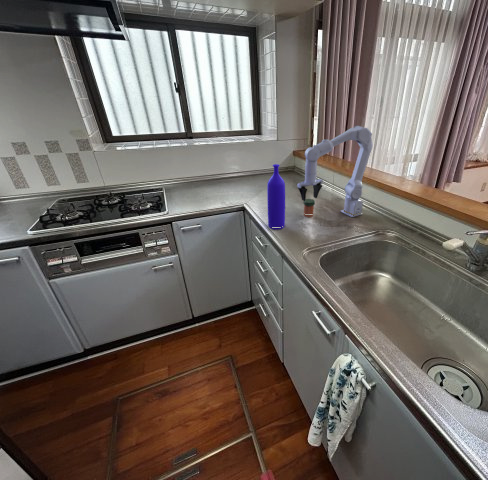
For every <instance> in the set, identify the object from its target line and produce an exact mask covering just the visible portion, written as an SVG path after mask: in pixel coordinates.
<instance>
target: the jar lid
mask: <svg viewBox="0 0 488 480" xmlns="http://www.w3.org/2000/svg"><path fill="white" fill-rule="evenodd" d="M315 204H316V200H315V199H312V198H306V199H305V201H303V206H304V205H306V206H313V205H314V206H315Z"/></svg>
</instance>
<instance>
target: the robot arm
mask: <svg viewBox="0 0 488 480" xmlns="http://www.w3.org/2000/svg"><path fill="white" fill-rule="evenodd" d="M372 136H373V133H372V131H371V130H370V129H369V128H368V127H364V126H361V125H355V126H353V127H351V128H348V129H347V130H346V131H344V132H342V133H341V134H339V135H337V136H335V137H333V138H332V139H321V142H319V143H317V144H313V145H312V146H309V147H308V148H306V150H305V151H304V157H305V165H304V166H305V167H304V181H301V182H298V183H297V185H296V186H297V189H298V191H299V193H300V197H301V200H302V201H303V202H304V201H305V199H307V192H308V188H306V187H311V186H312V188H313V198H314V199H318V196H319V194H320V191H321V189H323V181H324V179H321V178H320V179H317V173H318V170H317V169H318V160H319V159H320V157H323V156H325V155H326V154H328V153H330V152H332V151H333V149H334V147H336V146H338V145H341V144H342V143H345V142H347V141H355V142H356V143H357V144H358V146H359V151H358V154H357V158H356V161H355V165H354V168H353V171H352V174H351V178H350V179H348V181H347V184H346V185H345V187H344V192H345V196H344V197H345V198H344V205H343V209H341V210H340V213H343V214H344V215H346V216H348V217H350V218H354V217H358V216H361V215H363V206H364V203H363V201H362V199H360V198H361V197H362V195H363V187H364V186H363V183H362V181H363V177H364V175H365V172H366V168H367V165H368V162H369V158H370V155H371V153H372V150H373V140H372V139H373V138H372ZM344 210H345V211H347V212H350V213H352V214H357V215H354V216H353V215H351V214H349V213H346V212H344ZM361 212H362V213H361ZM358 213H361V214H358Z"/></svg>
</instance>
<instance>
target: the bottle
mask: <svg viewBox="0 0 488 480" xmlns="http://www.w3.org/2000/svg"><path fill="white" fill-rule="evenodd" d="M279 167H280V164H278V163H275V164H272V168H273V174H272V175H271V177H270V178H269V180H268V181H267V186H266V187H267V191H266V193H267V194H266V195H267V225H268V228H269V229H271V230H273V231H279V230H282V229H284V228H285V225H286V183H285V180H284V178H282V176H281V175H280V173H279ZM282 226H283V227H282ZM272 227H281V228H272Z"/></svg>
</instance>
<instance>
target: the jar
mask: <svg viewBox="0 0 488 480" xmlns="http://www.w3.org/2000/svg"><path fill="white" fill-rule="evenodd" d="M304 213H305V214H313V215H305V214H304ZM314 213H315V205H313V206H306V205H304V204H303V216H304V217H306V218H312V217H314Z"/></svg>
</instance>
